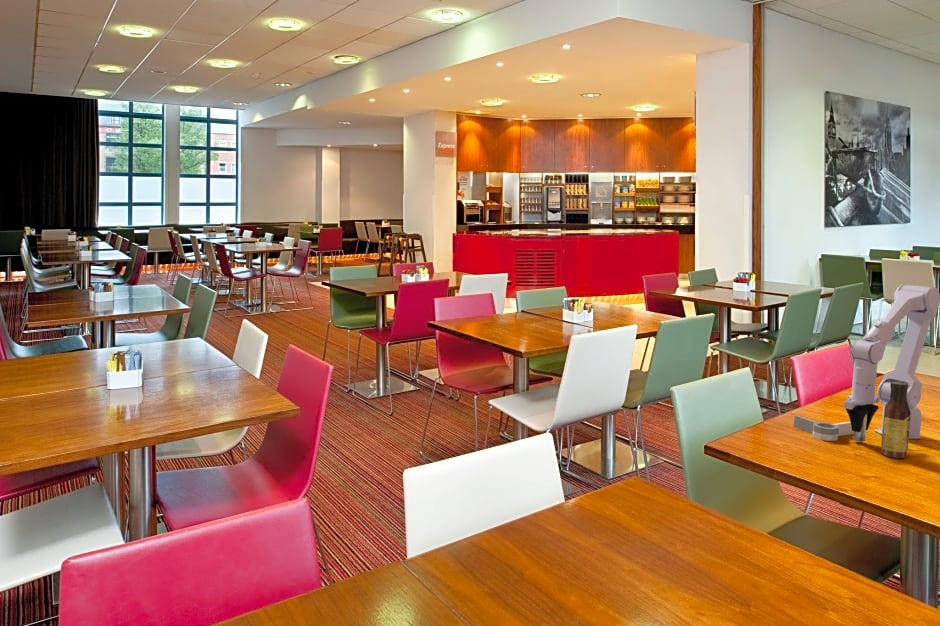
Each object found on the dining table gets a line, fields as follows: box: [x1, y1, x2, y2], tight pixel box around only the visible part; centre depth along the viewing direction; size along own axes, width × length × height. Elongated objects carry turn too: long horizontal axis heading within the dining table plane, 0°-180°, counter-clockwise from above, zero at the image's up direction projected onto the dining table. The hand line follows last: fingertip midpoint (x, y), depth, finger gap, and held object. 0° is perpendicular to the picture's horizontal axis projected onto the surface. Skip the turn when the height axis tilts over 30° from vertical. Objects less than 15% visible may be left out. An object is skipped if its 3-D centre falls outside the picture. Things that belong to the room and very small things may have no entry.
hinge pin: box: [852, 413, 867, 443], centre depth 204 cm, size 3×3×8 cm
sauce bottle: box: [880, 381, 911, 459], centre depth 193 cm, size 7×6×20 cm
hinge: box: [793, 414, 854, 442], centre depth 214 cm, size 14×14×4 cm
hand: (859, 430), depth 204 cm, fingers closed on hinge pin, 3 cm apart
